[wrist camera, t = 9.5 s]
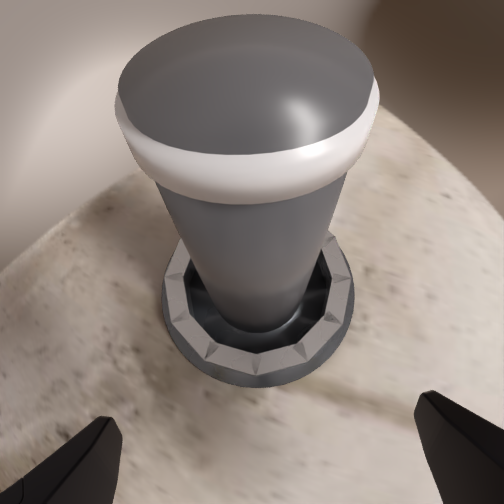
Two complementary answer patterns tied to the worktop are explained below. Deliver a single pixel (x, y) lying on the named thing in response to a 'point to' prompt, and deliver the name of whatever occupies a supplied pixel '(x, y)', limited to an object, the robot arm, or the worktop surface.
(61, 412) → the worktop surface
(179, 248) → the mount ring
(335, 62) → the grey cylinder
